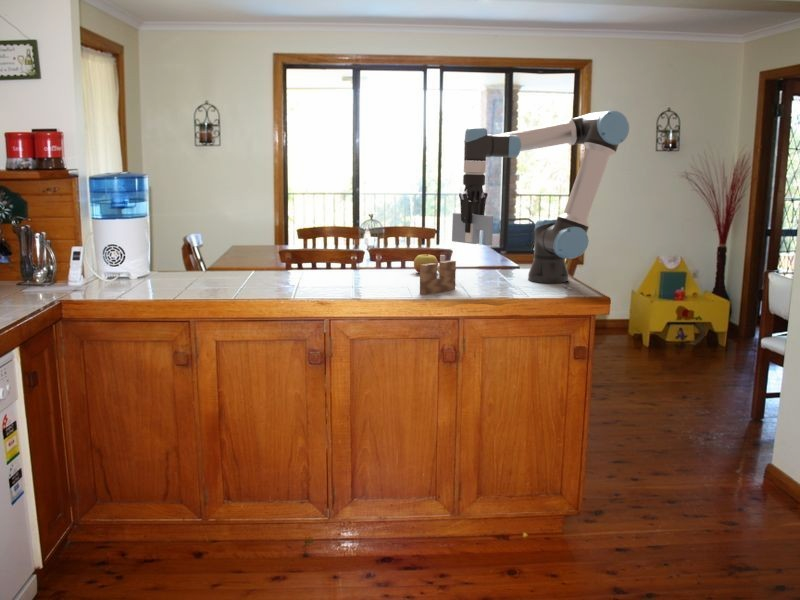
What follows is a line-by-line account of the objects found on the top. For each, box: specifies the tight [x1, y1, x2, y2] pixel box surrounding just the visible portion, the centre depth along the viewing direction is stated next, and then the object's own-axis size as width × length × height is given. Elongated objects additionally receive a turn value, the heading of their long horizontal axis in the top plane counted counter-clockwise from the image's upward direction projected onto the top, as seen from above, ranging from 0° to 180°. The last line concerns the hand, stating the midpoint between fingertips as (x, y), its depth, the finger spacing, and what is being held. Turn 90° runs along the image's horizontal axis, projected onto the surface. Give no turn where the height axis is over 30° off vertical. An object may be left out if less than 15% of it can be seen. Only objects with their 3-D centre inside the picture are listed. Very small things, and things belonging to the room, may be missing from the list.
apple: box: [413, 253, 439, 274], centre depth 303 cm, size 10×10×8 cm
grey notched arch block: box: [451, 212, 494, 247], centre depth 265 cm, size 16×2×10 cm, turn 46°
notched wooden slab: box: [419, 259, 457, 296], centre depth 263 cm, size 16×2×10 cm, turn 136°
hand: (471, 241), depth 266 cm, fingers closed on grey notched arch block, 2 cm apart
